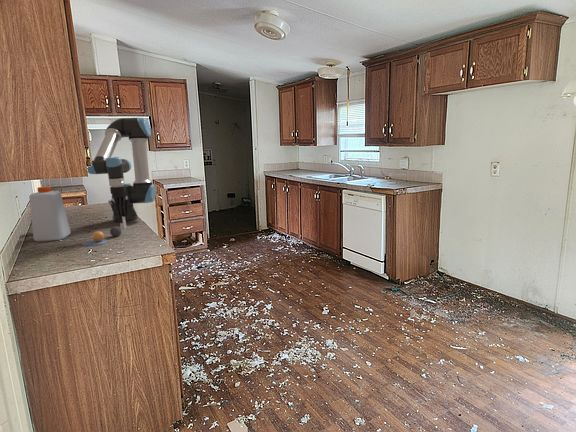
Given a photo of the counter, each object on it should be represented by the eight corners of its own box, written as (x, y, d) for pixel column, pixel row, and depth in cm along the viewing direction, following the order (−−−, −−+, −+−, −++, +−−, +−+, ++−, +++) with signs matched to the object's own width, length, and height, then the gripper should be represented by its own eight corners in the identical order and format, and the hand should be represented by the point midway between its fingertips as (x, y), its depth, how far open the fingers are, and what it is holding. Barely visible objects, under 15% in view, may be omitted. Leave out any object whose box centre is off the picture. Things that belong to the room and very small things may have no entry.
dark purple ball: (112, 225, 197) (111, 235, 197) (109, 225, 192) (108, 236, 191) (122, 226, 198) (121, 236, 198) (120, 226, 193) (119, 237, 192)
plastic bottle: (31, 242, 188) (20, 189, 182) (44, 235, 203) (35, 186, 197) (62, 240, 191) (53, 188, 185) (73, 233, 206) (65, 184, 200)
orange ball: (98, 234, 189) (89, 240, 185) (98, 227, 186) (89, 232, 182) (106, 240, 189) (98, 245, 184) (107, 232, 186) (98, 237, 181)
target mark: (80, 242, 185) (79, 242, 185) (105, 238, 192) (105, 237, 192) (83, 247, 176) (83, 247, 175) (110, 242, 183) (110, 242, 182)
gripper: (112, 188, 187) (119, 231, 193) (131, 184, 199) (137, 225, 205) (102, 187, 190) (108, 230, 196) (121, 184, 202) (127, 224, 207)
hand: (123, 228), depth 200 cm, fingers closed
